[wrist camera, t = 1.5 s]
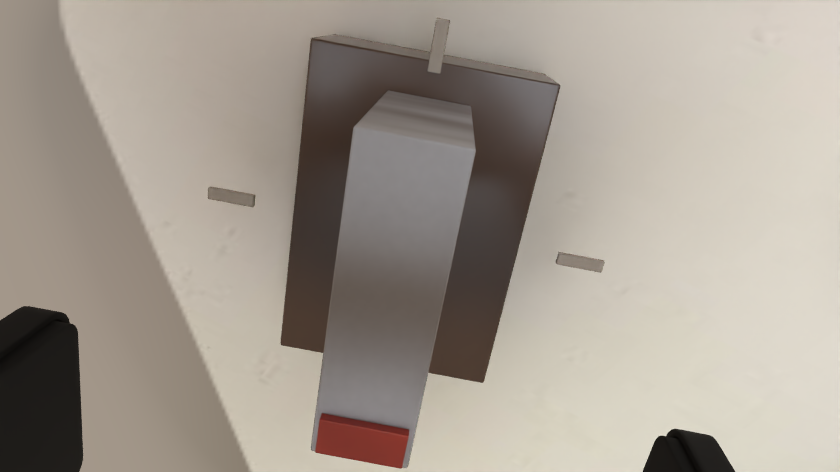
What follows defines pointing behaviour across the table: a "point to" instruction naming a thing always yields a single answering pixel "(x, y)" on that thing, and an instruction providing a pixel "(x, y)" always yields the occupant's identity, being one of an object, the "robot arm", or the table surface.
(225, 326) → the table surface
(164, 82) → the table surface
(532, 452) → the table surface
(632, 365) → the table surface
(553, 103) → the base
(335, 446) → the gray box
